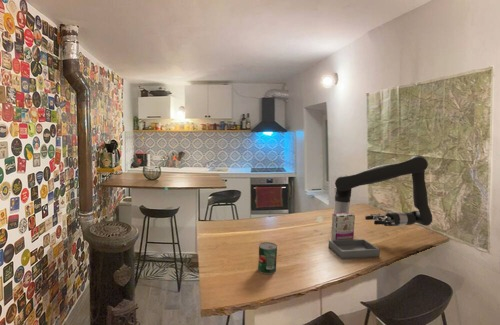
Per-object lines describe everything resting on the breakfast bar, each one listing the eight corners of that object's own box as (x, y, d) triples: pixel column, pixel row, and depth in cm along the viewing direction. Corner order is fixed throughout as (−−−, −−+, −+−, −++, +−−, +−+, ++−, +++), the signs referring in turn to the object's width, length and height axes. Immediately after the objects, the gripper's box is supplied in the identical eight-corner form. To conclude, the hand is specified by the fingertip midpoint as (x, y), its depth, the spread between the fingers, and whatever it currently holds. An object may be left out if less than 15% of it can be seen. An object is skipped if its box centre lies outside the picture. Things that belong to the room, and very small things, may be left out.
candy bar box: (348, 240, 167) (350, 212, 165) (353, 244, 162) (355, 214, 160) (330, 242, 164) (332, 213, 162) (335, 245, 159) (337, 216, 157)
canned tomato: (254, 269, 130) (255, 245, 129) (266, 263, 135) (267, 240, 134) (267, 276, 124) (268, 250, 123) (279, 270, 130) (281, 246, 128)
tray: (328, 247, 156) (329, 240, 156) (363, 246, 160) (364, 238, 159) (341, 259, 143) (341, 251, 142) (379, 257, 146) (379, 249, 146)
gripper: (388, 209, 174) (363, 209, 171) (405, 216, 160) (378, 217, 157) (387, 221, 174) (362, 222, 171) (404, 229, 160) (377, 231, 158)
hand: (370, 220), depth 164 cm, fingers open, 8 cm apart
